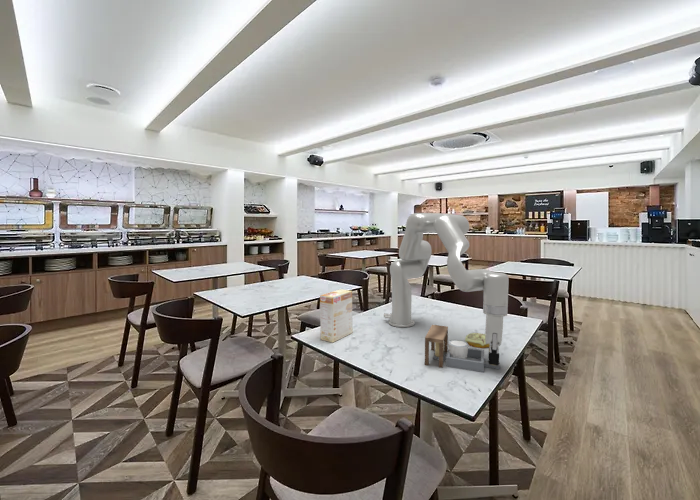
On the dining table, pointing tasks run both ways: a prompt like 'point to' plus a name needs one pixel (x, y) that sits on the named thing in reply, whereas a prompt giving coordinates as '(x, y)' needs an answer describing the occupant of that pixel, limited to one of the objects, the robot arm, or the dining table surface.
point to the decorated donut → (476, 340)
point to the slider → (466, 363)
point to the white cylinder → (458, 349)
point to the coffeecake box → (336, 315)
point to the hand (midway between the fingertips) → (493, 361)
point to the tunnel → (439, 336)
